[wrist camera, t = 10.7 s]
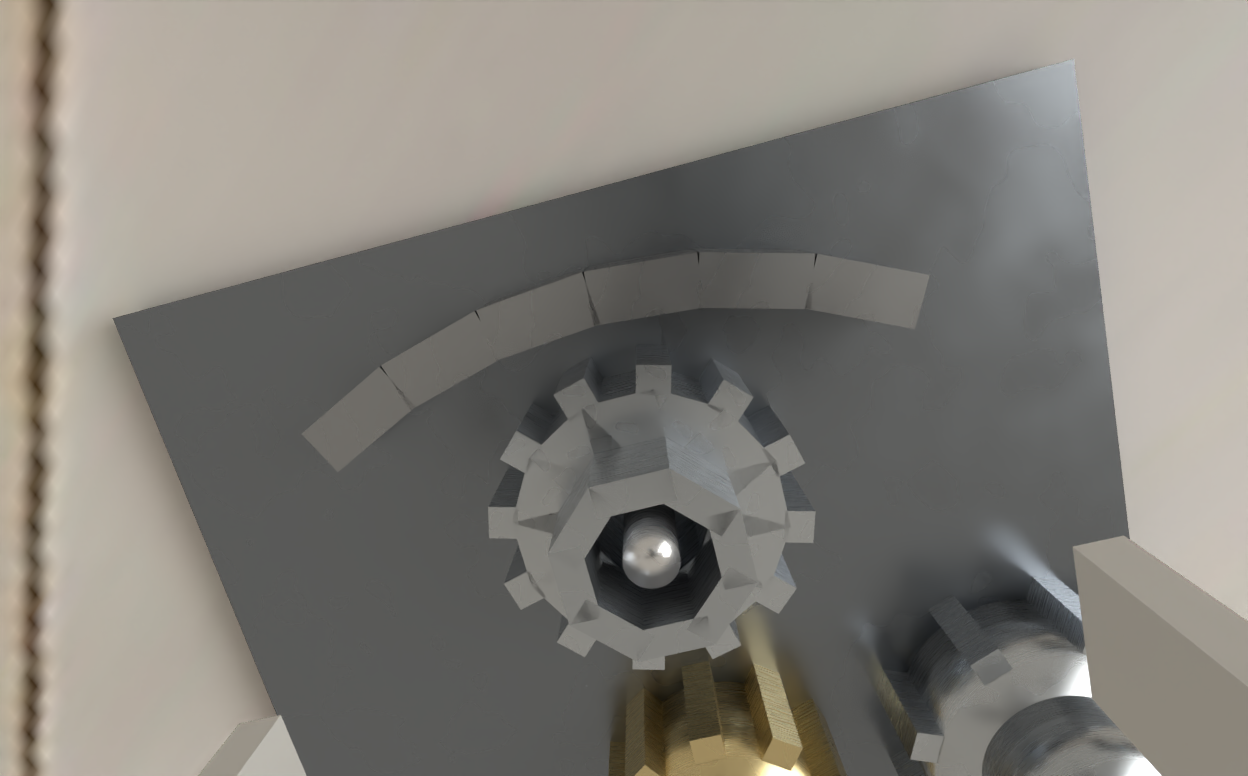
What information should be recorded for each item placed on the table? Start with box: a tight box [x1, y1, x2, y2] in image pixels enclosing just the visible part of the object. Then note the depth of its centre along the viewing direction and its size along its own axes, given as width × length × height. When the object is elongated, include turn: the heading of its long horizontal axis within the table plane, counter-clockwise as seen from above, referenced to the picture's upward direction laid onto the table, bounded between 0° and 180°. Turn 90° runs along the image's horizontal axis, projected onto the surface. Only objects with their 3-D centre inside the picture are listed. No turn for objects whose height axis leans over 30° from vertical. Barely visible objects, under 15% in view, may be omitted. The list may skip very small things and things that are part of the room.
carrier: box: [113, 59, 1161, 776], centre depth 21 cm, size 26×28×7 cm
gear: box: [488, 345, 816, 670], centre depth 20 cm, size 9×9×6 cm
